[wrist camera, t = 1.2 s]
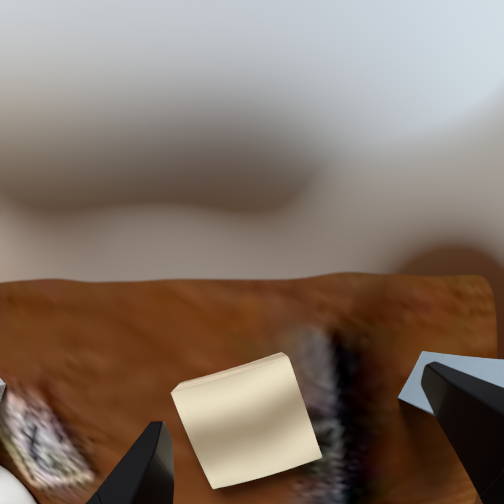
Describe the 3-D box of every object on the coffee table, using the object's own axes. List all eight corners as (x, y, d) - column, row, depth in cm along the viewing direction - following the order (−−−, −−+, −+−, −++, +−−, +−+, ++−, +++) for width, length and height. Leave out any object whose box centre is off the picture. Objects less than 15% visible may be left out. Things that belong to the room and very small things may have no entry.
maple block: (311, 439, 24) (322, 457, 20) (216, 468, 23) (212, 489, 19) (281, 351, 25) (288, 357, 21) (180, 382, 24) (170, 392, 20)
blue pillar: (430, 413, 24) (518, 448, 11) (397, 397, 24) (488, 435, 11) (452, 370, 25) (547, 384, 12) (422, 351, 25) (521, 361, 12)
